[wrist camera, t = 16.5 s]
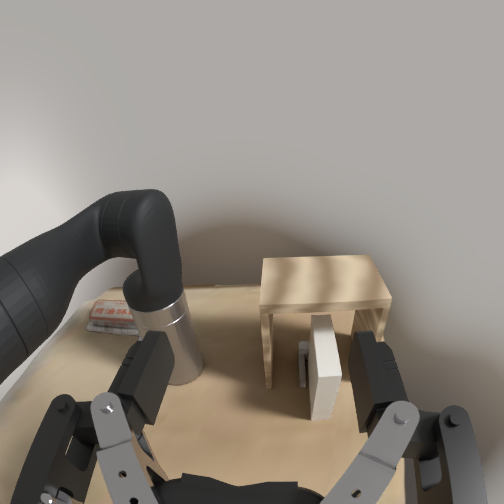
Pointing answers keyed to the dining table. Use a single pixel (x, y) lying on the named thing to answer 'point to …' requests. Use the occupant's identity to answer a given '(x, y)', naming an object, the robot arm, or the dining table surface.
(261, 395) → the dining table surface
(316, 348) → the white box
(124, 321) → the packaged product
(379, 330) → the wooden arch
